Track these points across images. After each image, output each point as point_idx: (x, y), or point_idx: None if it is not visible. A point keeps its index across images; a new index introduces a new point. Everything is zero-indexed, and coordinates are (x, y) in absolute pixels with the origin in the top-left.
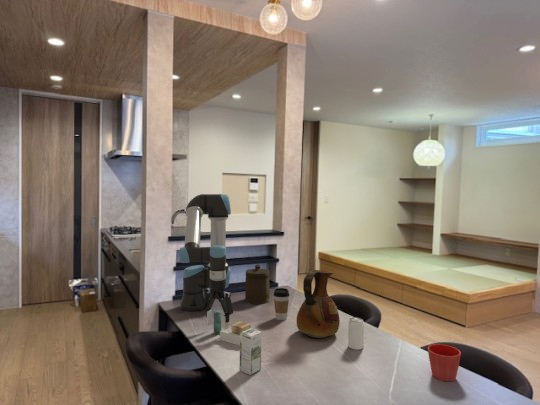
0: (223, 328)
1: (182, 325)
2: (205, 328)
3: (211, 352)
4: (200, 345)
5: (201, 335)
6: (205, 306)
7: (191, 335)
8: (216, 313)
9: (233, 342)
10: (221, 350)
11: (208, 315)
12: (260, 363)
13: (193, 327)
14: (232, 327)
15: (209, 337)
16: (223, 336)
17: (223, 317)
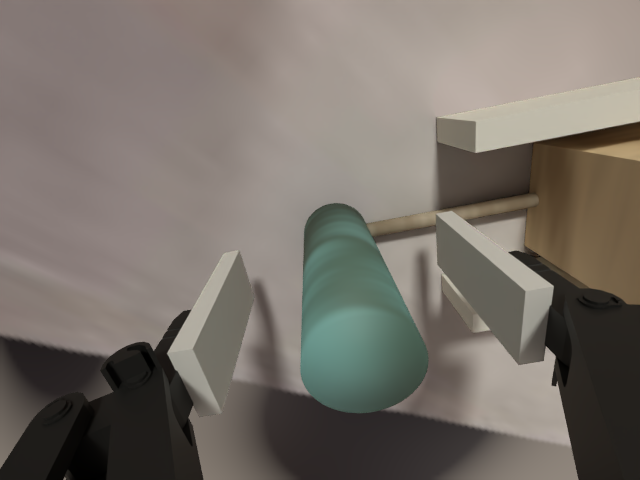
0: (444, 268)
1: (20, 327)
2: (182, 243)
3: (519, 402)
4: (408, 398)
5: (288, 330)
6: (95, 468)
7: (244, 368)
8: (394, 399)
9: None
10: (553, 361)
11: (232, 363)
12: None
13: (107, 294)
14: (625, 301)
15: None
16: None
17: (504, 342)
